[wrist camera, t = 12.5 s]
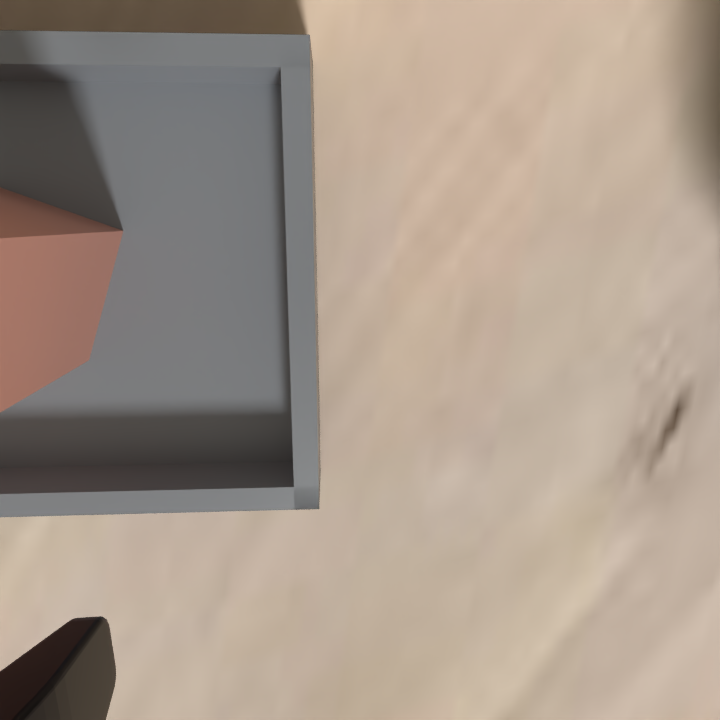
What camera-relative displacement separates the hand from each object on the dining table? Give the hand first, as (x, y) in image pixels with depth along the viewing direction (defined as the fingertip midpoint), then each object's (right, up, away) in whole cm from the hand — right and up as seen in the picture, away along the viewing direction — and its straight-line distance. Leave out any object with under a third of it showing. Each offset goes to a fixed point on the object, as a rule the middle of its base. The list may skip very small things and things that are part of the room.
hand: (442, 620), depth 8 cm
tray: (-11, +6, +11) cm, 17 cm away
